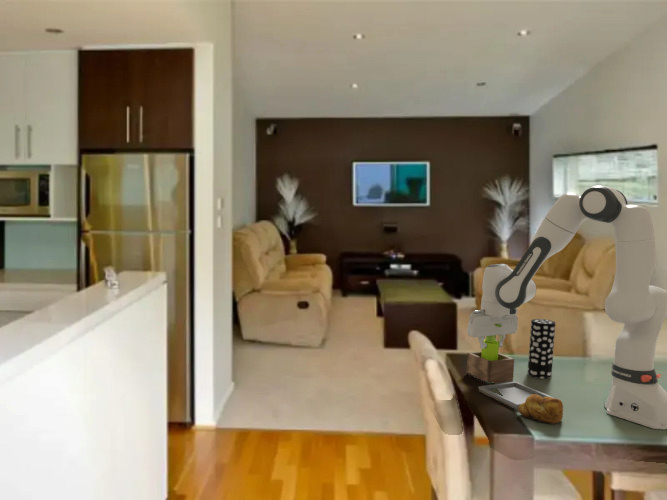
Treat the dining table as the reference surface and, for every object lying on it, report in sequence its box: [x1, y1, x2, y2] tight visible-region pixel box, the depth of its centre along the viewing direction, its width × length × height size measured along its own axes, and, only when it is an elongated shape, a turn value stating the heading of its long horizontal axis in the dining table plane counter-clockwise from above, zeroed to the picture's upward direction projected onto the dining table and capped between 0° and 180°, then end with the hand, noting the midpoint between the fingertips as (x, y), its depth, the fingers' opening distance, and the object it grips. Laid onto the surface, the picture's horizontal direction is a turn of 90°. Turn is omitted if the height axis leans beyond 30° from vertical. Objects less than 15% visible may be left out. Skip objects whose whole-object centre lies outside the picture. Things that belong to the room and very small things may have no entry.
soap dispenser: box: [481, 324, 502, 361], centre depth 220 cm, size 6×7×20 cm
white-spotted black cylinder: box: [527, 318, 556, 380], centre depth 225 cm, size 8×8×20 cm
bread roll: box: [518, 394, 564, 425], centre depth 183 cm, size 13×10×8 cm
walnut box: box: [466, 350, 515, 384], centre depth 221 cm, size 12×11×8 cm
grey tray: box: [478, 381, 555, 411], centre depth 201 cm, size 18×16×2 cm
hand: (491, 347), depth 220 cm, fingers closed on soap dispenser, 6 cm apart
